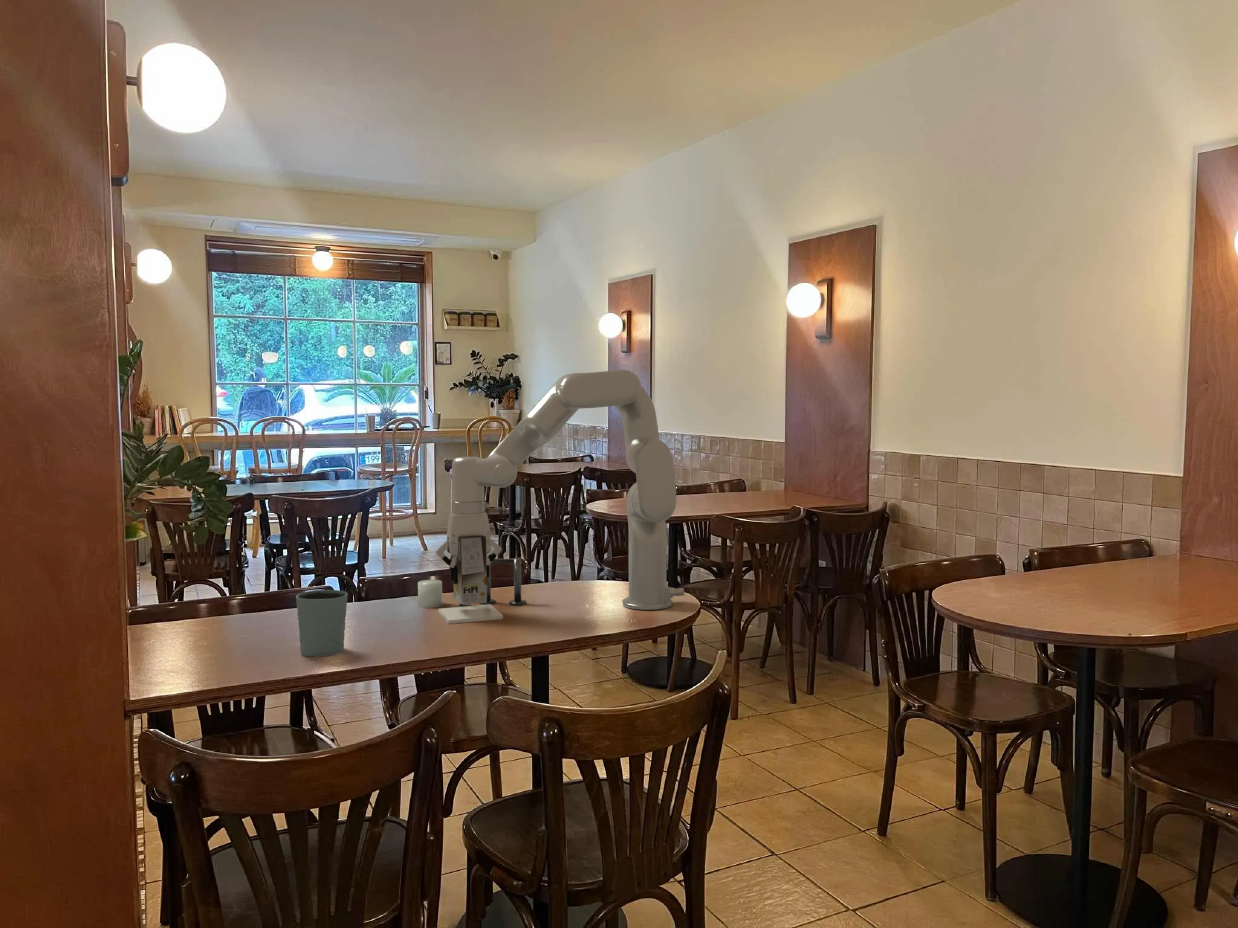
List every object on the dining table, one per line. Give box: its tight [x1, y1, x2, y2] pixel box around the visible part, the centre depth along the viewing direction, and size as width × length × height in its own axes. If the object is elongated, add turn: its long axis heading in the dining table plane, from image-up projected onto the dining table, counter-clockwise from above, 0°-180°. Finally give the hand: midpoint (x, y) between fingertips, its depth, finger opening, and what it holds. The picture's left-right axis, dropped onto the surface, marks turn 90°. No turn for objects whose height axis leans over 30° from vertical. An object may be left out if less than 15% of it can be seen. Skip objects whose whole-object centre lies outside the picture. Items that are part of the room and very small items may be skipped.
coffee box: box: [452, 536, 487, 605], centre depth 222 cm, size 9×6×16 cm
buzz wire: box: [453, 558, 527, 608], centre depth 234 cm, size 18×8×12 cm, turn 111°
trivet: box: [437, 604, 504, 625], centre depth 223 cm, size 13×13×1 cm
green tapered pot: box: [295, 589, 349, 657], centre depth 191 cm, size 10×10×12 cm
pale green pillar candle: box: [417, 579, 443, 609], centre depth 234 cm, size 6×6×6 cm
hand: (469, 581), depth 222 cm, fingers closed on coffee box, 6 cm apart
